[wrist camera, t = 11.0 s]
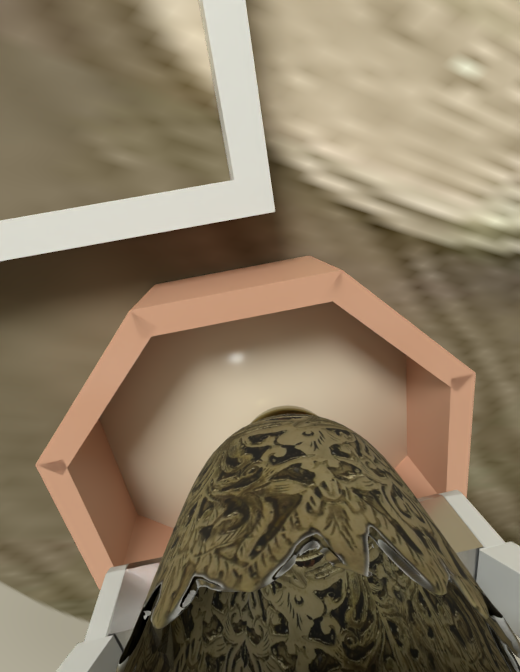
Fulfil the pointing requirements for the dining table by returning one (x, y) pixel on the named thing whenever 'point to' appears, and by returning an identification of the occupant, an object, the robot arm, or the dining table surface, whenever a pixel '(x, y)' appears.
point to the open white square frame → (184, 204)
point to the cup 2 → (312, 566)
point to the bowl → (246, 396)
